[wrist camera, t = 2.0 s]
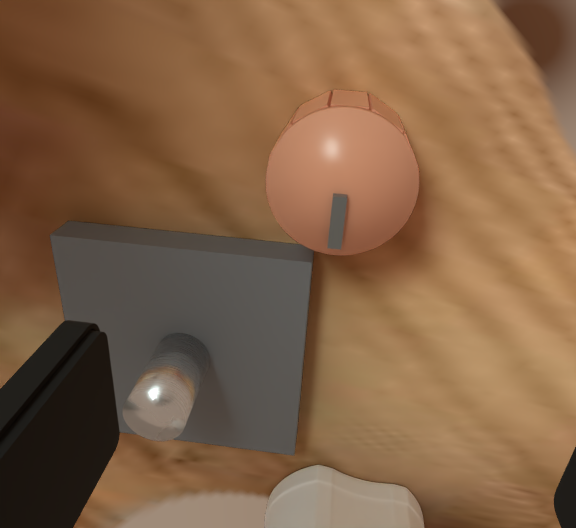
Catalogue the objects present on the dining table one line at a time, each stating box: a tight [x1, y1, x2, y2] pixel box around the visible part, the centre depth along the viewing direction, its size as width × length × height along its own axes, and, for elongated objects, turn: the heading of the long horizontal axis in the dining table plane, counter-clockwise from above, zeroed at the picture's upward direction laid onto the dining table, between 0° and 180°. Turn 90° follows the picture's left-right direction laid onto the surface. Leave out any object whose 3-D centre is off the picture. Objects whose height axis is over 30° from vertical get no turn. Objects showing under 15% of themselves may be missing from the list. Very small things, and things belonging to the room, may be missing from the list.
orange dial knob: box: [266, 89, 420, 255], centre depth 23 cm, size 6×6×5 cm
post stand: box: [50, 221, 314, 455], centre depth 28 cm, size 14×14×7 cm
